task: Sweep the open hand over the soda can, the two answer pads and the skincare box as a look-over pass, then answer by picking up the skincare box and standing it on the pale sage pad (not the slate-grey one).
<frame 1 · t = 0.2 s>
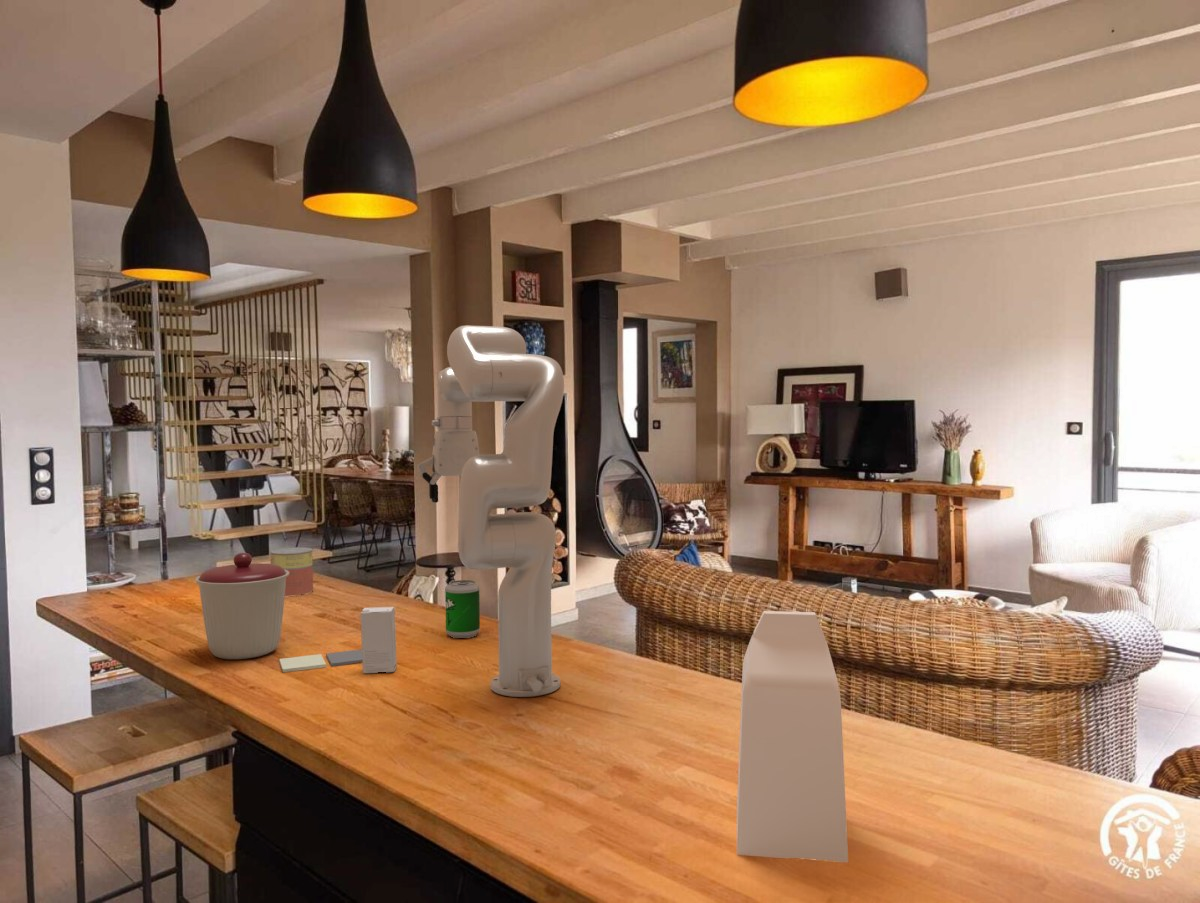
hand: (456, 500, 193), 30 cm above the kitchen island, tool pointing down, fingers open, 9 cm apart
canister: (244, 654, 179), on the kitchen island
soda can: (463, 636, 193), on the kitchen island
skincare box: (379, 671, 166), on the kitchen island
milk: (788, 835, 100), on the kitchen island
slate pad: (349, 658, 174), on the kitchen island
sage pad: (302, 664, 171), on the kitchen island
canned food: (292, 593, 242), on the kitchen island
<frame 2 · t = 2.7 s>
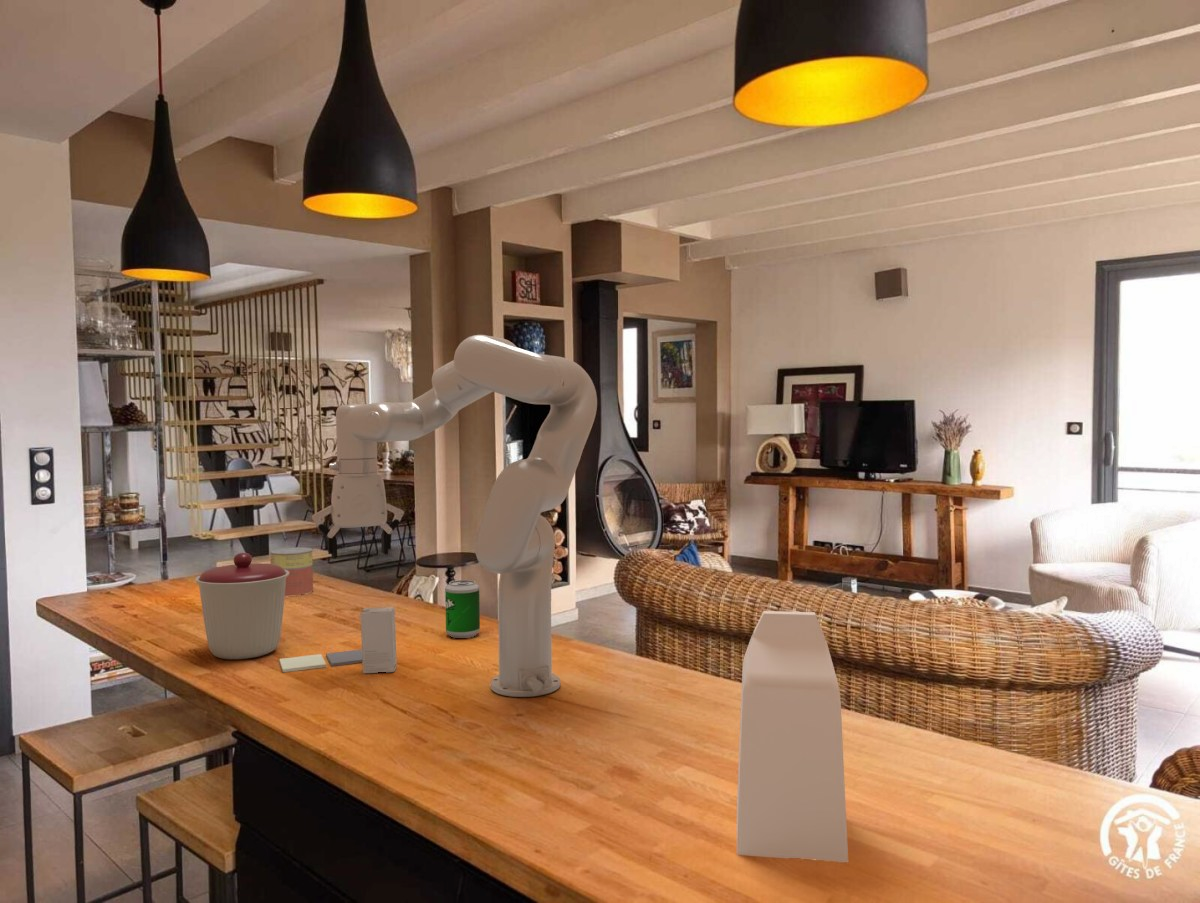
hand: (359, 555, 167), 22 cm above the kitchen island, tool pointing down, fingers open, 9 cm apart
nothing on the kitchen island moved.
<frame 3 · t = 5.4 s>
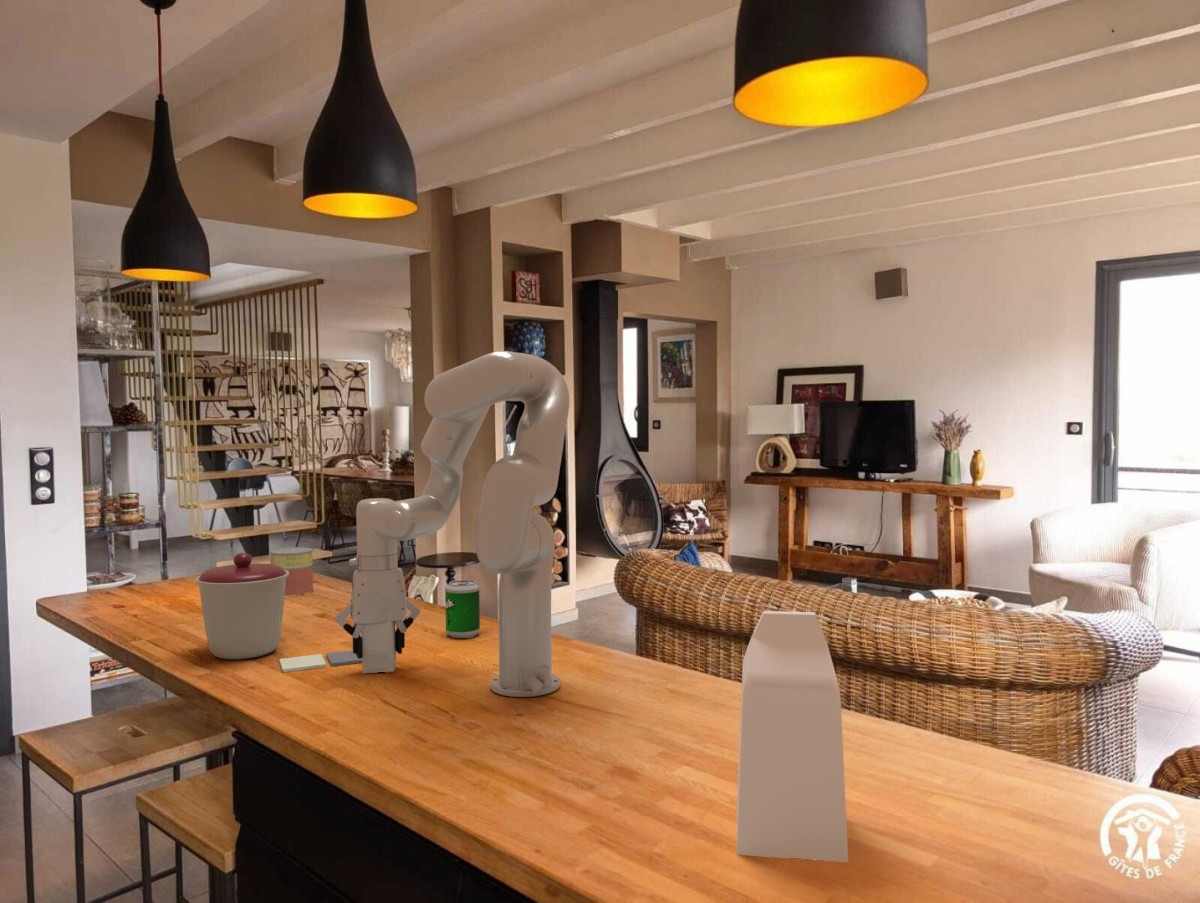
hand: (379, 653, 166), 3 cm above the kitchen island, tool pointing down, fingers closed on skincare box, 6 cm apart
skincare box: (379, 671, 166), on the kitchen island, touching gripper
everything else where it was.
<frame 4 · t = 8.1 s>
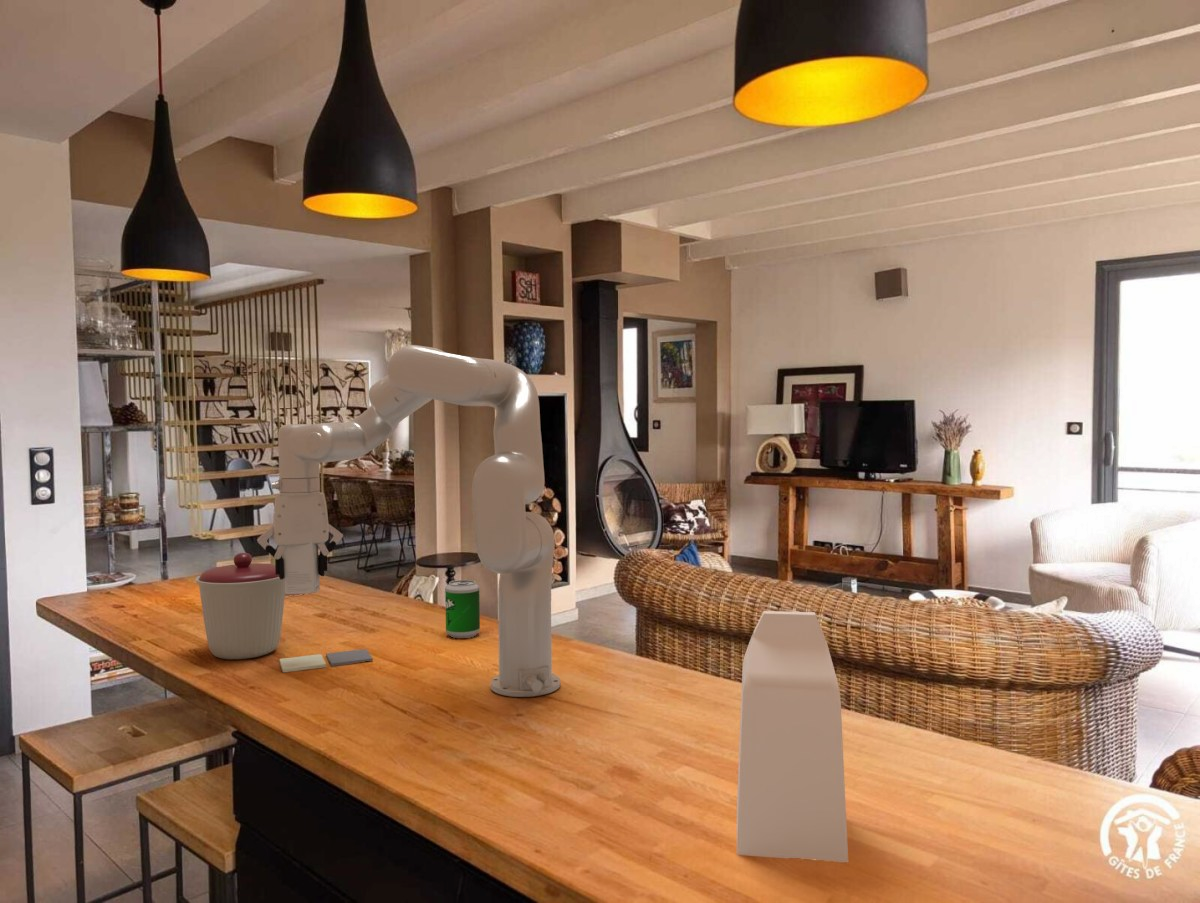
hand: (301, 575, 170), 18 cm above the kitchen island, tool pointing down, fingers closed on skincare box, 6 cm apart
skincare box: (301, 593, 170), point 14 cm above the kitchen island, touching gripper
everything else where it was.
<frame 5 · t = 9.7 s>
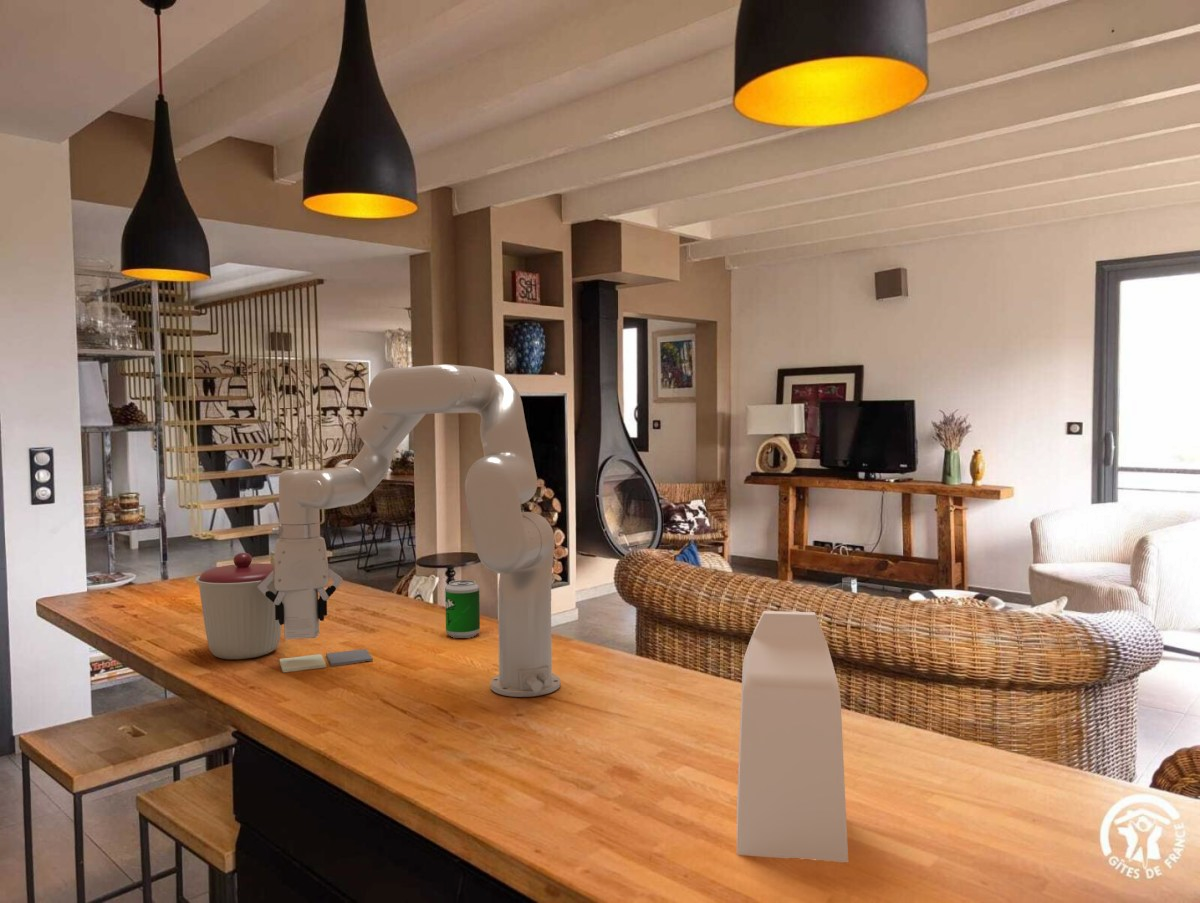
hand: (301, 620, 170), 9 cm above the kitchen island, tool pointing down, fingers closed on skincare box, 6 cm apart
skincare box: (301, 638, 170), point 5 cm above the kitchen island, touching gripper
everything else where it was.
when the fingers open (5 cm above the kitchen island, at t = 11.0 s): skincare box stays where it is, resting on sage pad.
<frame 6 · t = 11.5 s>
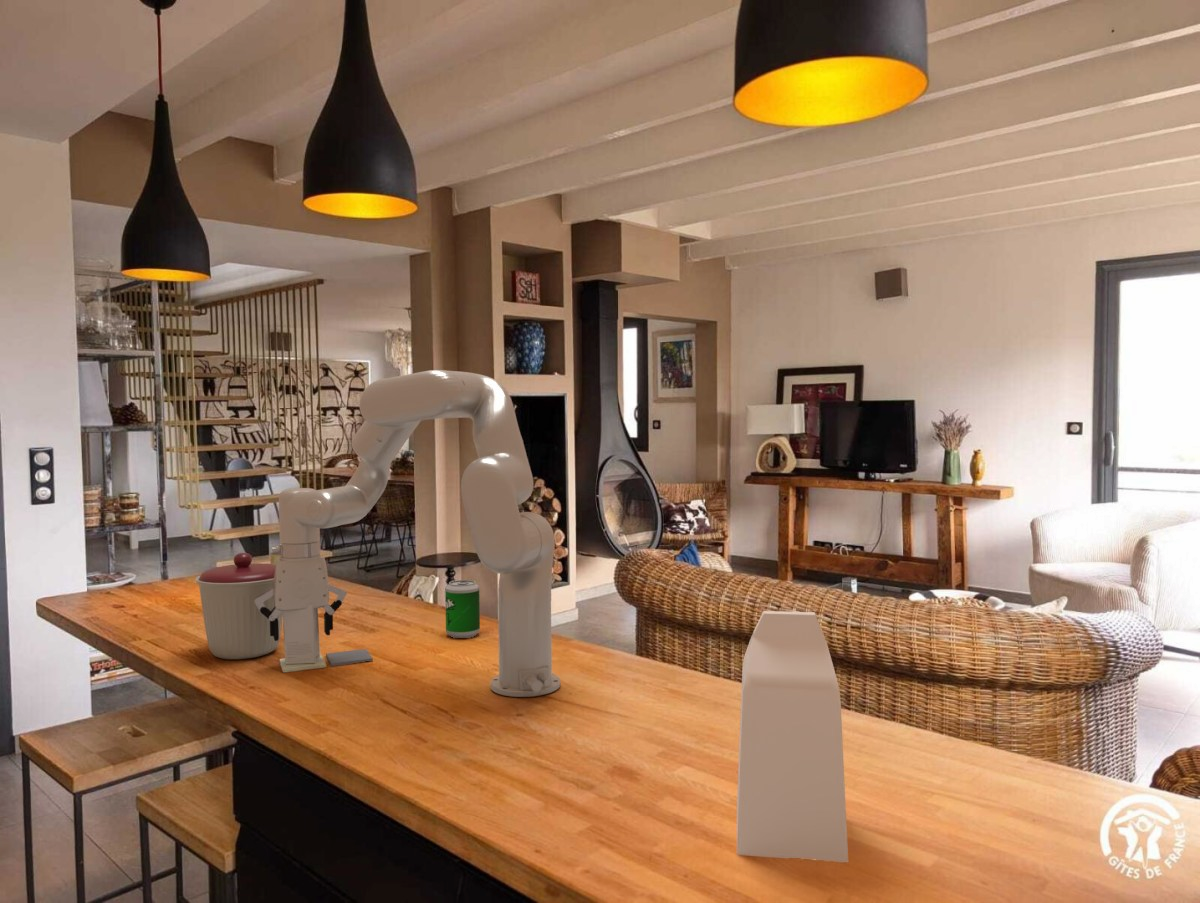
hand: (302, 636, 170), 6 cm above the kitchen island, tool pointing down, fingers open, 9 cm apart
skincare box: (301, 662, 170), resting on sage pad
everything else where it was.
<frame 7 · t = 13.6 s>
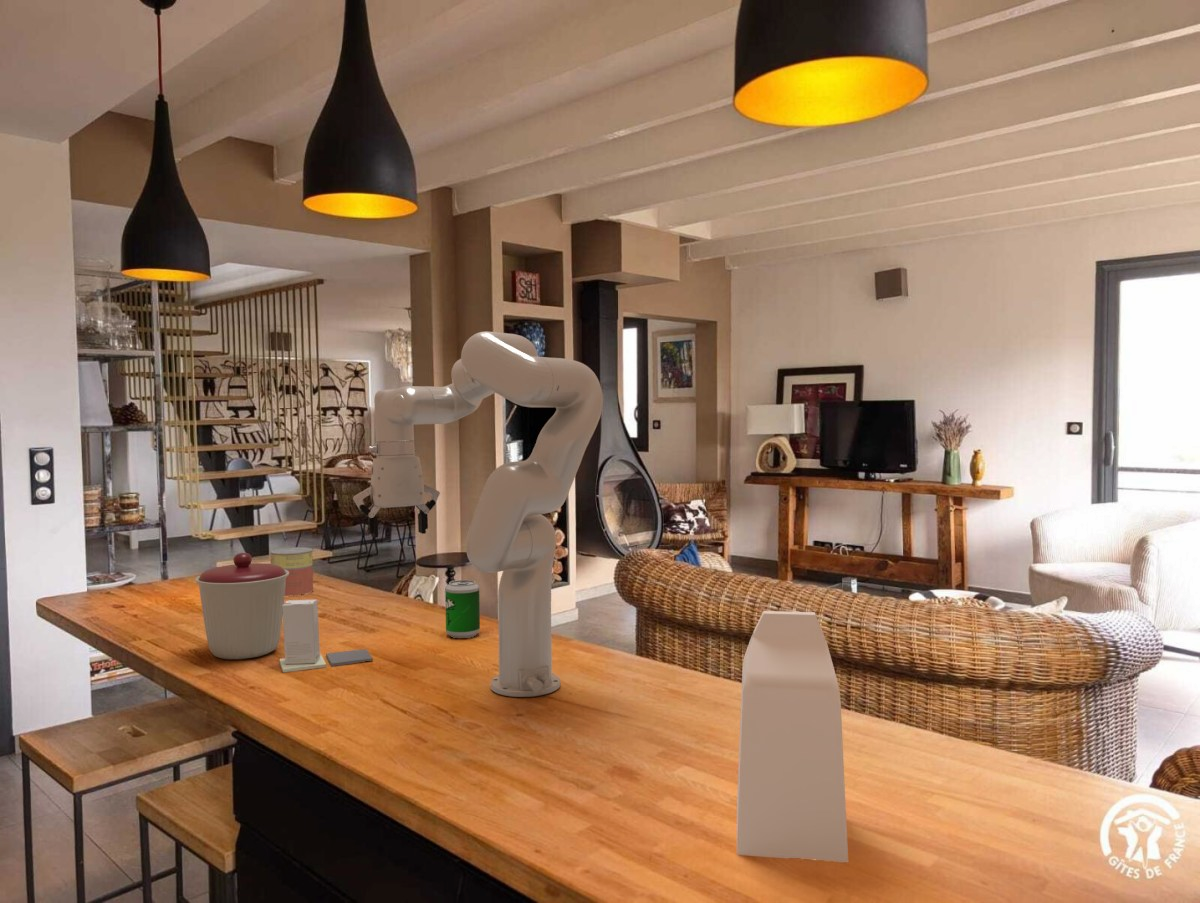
hand: (398, 535, 174), 25 cm above the kitchen island, tool pointing down, fingers open, 9 cm apart
nothing on the kitchen island moved.
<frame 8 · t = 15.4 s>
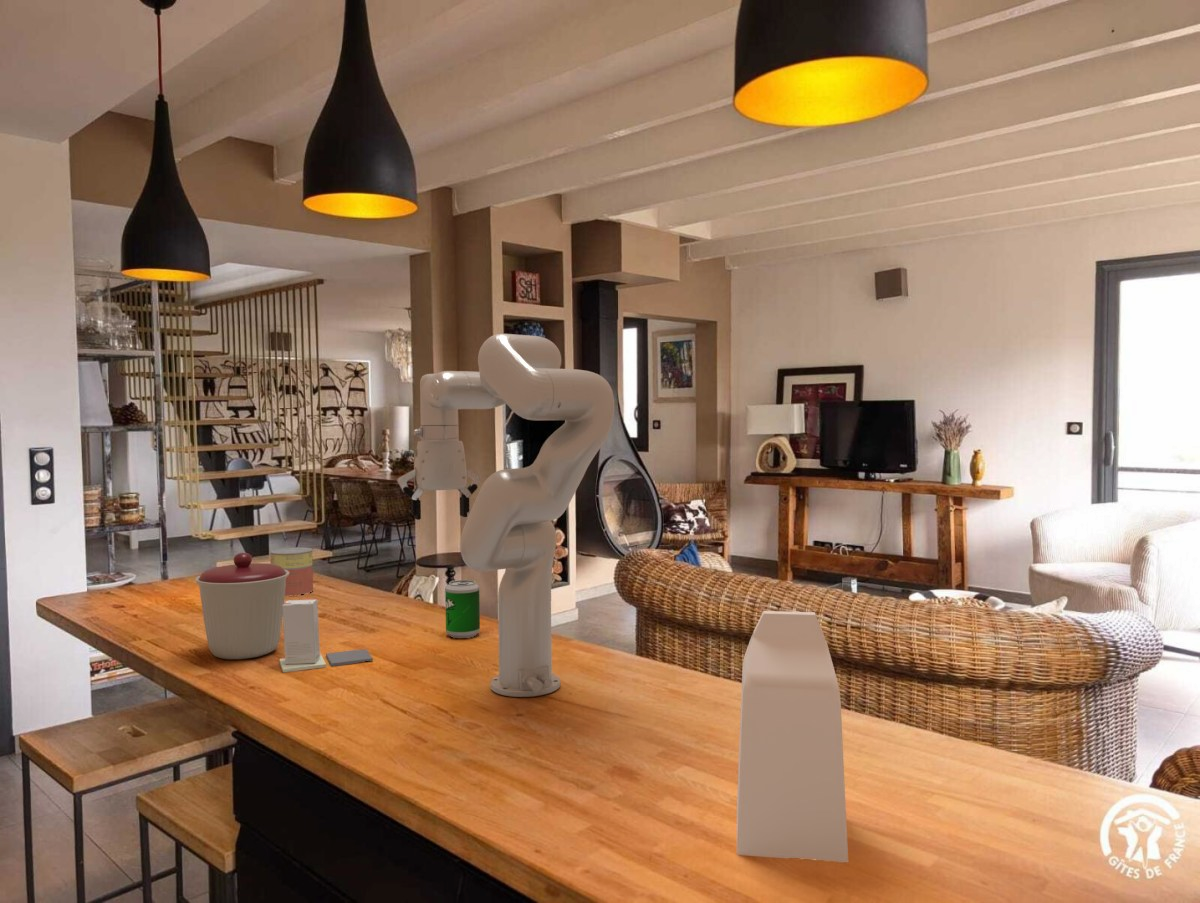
hand: (440, 517, 176), 28 cm above the kitchen island, tool pointing down, fingers open, 9 cm apart
nothing on the kitchen island moved.
at the end: skincare box inside the target area on the sage pad (0.2 cm from its centre), point 0.4 cm above the sage pad's base; skincare box tilted 0°; the gripper is holding nothing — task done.
